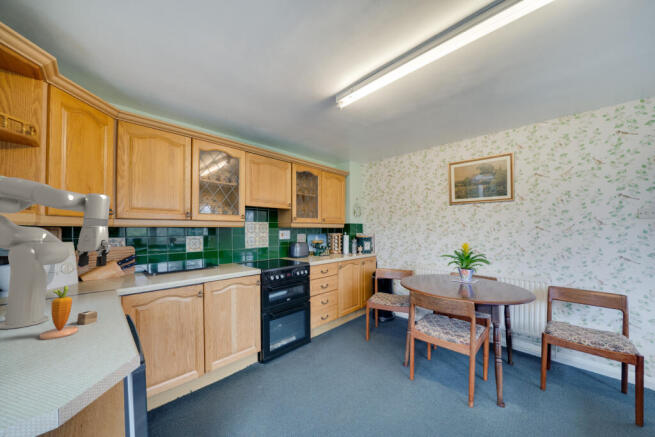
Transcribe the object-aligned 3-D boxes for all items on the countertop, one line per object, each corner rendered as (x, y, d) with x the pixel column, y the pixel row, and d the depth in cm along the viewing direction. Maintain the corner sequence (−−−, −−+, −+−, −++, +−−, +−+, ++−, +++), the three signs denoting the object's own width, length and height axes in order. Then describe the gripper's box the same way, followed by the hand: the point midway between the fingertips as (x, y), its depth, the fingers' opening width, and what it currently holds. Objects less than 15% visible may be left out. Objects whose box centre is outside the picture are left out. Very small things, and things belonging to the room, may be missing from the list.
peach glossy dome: (32, 338, 81) (32, 334, 81) (66, 328, 90) (67, 325, 90) (51, 340, 79) (51, 337, 79) (84, 330, 88) (84, 327, 88)
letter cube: (77, 324, 95) (78, 312, 95) (89, 320, 99) (90, 309, 99) (84, 325, 94) (85, 313, 94) (96, 321, 98) (97, 310, 98)
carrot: (55, 334, 82) (59, 288, 83) (44, 332, 83) (48, 288, 84) (73, 328, 87) (77, 285, 88) (63, 327, 88) (66, 285, 89)
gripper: (69, 223, 98) (65, 266, 97) (101, 222, 94) (97, 267, 93) (91, 224, 105) (87, 264, 104) (121, 224, 101) (118, 265, 100)
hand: (92, 265), depth 98 cm, fingers open, 9 cm apart
